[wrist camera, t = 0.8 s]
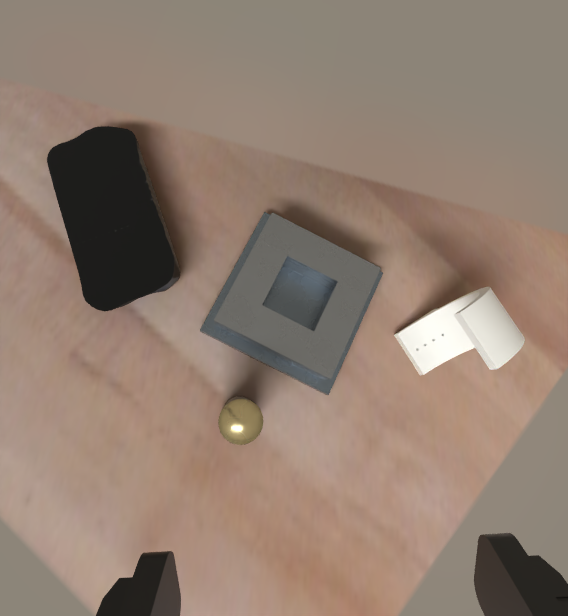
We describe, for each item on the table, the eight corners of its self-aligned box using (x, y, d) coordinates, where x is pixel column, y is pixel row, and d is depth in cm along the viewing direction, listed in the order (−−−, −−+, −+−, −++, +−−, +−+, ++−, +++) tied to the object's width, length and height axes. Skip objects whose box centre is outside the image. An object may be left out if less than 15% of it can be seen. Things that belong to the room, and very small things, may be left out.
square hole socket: (200, 331, 38) (197, 325, 34) (263, 216, 41) (267, 198, 37) (326, 394, 38) (336, 395, 35) (379, 275, 41) (394, 263, 37)
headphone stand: (393, 334, 40) (459, 312, 29) (441, 304, 42) (522, 270, 30) (419, 375, 40) (497, 369, 28) (466, 343, 41) (560, 325, 29)
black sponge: (188, 292, 39) (184, 282, 35) (97, 320, 38) (83, 312, 34) (139, 141, 41) (130, 117, 38) (52, 162, 40) (34, 139, 36)
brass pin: (216, 421, 37) (210, 432, 28) (231, 390, 37) (231, 391, 28) (246, 436, 37) (250, 452, 28) (261, 405, 38) (270, 410, 28)
